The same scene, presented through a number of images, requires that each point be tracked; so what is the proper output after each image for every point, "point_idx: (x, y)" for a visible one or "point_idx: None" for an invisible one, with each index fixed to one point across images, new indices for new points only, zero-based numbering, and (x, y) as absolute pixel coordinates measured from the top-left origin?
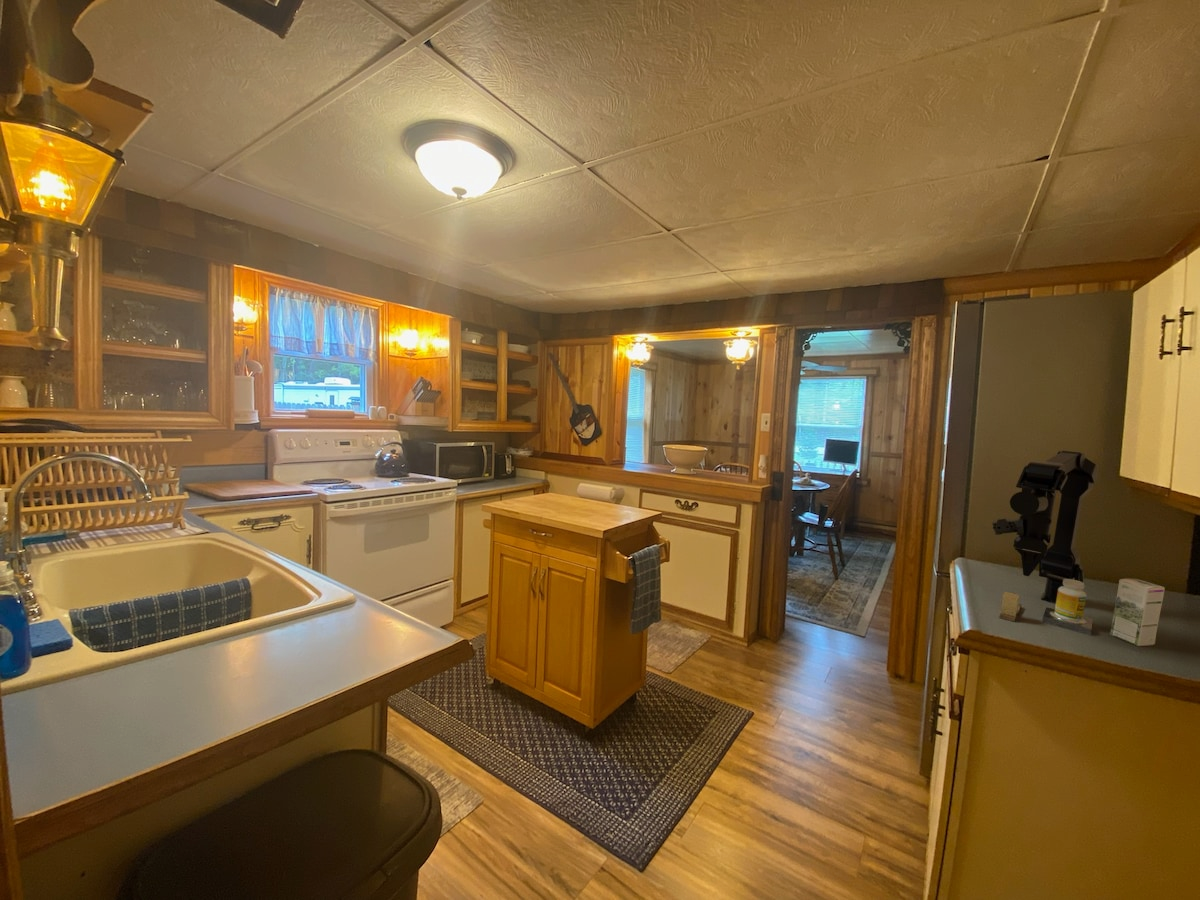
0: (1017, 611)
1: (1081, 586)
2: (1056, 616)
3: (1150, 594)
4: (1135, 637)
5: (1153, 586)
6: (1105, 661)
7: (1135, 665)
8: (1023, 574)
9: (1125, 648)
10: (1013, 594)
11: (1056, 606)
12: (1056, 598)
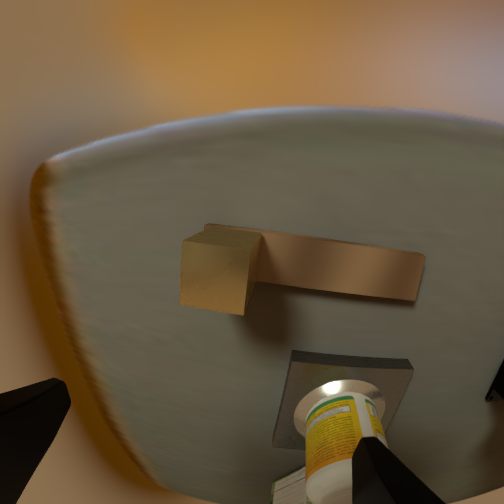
0: (301, 286)
1: None
2: (320, 393)
3: None
4: (273, 493)
5: None
6: (110, 412)
7: (142, 449)
8: (53, 379)
9: (234, 465)
10: (232, 288)
11: (338, 412)
12: (502, 380)
